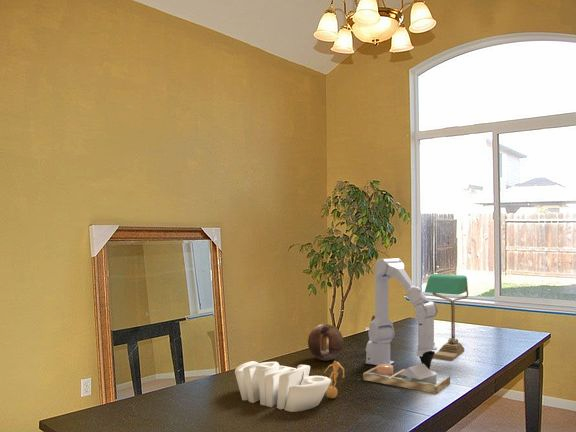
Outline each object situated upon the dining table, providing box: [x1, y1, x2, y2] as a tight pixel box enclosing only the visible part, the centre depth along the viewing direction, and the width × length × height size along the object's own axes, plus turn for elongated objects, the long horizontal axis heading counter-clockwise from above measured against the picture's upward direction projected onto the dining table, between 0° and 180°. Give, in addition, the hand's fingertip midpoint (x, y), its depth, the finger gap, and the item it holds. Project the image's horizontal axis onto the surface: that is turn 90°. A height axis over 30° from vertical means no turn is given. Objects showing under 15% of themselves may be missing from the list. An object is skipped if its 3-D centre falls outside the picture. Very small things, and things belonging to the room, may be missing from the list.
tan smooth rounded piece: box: [376, 364, 394, 377], centre depth 200 cm, size 6×6×4 cm
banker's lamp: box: [424, 273, 469, 362], centre depth 234 cm, size 16×21×35 cm
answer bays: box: [362, 365, 451, 394], centre depth 195 cm, size 28×14×3 cm, turn 55°
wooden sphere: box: [307, 323, 344, 362], centre depth 226 cm, size 15×15×15 cm
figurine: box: [324, 360, 345, 399], centre depth 177 cm, size 8×6×12 cm
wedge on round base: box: [400, 363, 437, 385], centre depth 193 cm, size 9×7×13 cm
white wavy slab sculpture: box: [234, 360, 332, 413], centre depth 176 cm, size 35×16×11 cm, turn 53°
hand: (425, 370), depth 199 cm, fingers closed, pressing on wedge on round base
